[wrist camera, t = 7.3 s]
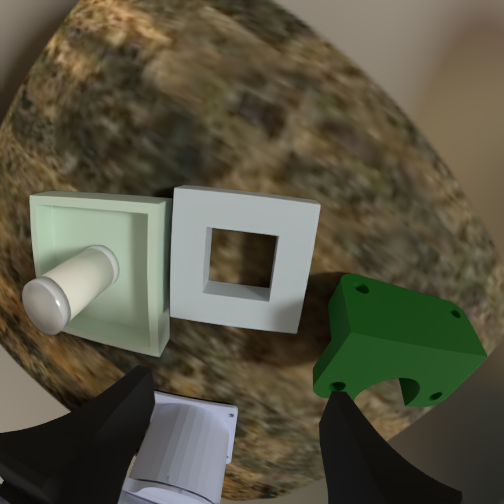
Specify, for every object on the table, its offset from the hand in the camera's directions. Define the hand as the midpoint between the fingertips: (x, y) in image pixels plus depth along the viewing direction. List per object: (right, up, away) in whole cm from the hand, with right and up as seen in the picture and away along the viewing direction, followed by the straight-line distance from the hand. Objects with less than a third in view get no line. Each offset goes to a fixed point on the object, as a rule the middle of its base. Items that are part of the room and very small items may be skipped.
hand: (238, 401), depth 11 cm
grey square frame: (0, +6, +8) cm, 10 cm away
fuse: (-10, +5, +8) cm, 14 cm away
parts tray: (-10, +5, +9) cm, 14 cm away
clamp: (+10, 0, +10) cm, 14 cm away
